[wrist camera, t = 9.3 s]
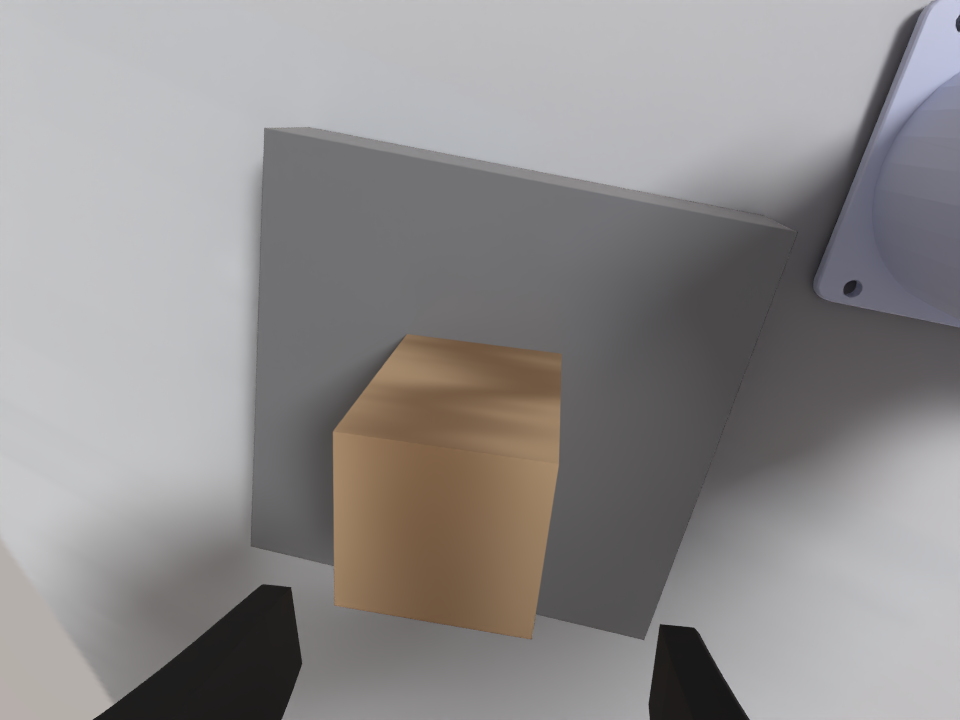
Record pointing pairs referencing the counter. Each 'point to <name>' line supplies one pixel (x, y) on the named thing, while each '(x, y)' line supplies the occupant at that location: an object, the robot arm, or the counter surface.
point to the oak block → (448, 485)
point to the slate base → (508, 338)
